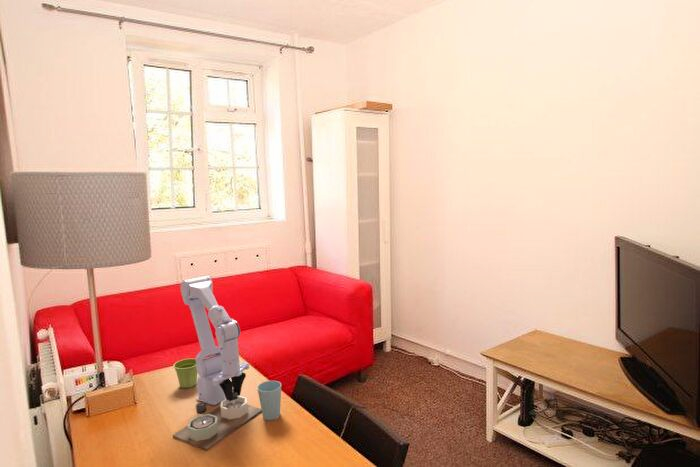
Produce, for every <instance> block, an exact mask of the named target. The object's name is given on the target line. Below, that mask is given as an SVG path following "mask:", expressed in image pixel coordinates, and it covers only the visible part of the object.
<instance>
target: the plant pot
mask: <svg viewBox="0 0 700 467" xmlns="http://www.w3.org/2000/svg"><path fill="white" fill-rule="evenodd" d="M172 367H173V369H174V370H175V373H176V375H177V380H178V383H179V384H178V385H179V387H180V388H182V389H185V388H187V389H188V388H192V387H194V386H197V380H198V373H197V369H196V358H184V359H181V360H177V361H175V363H174V364H173V366H172Z"/></svg>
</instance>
